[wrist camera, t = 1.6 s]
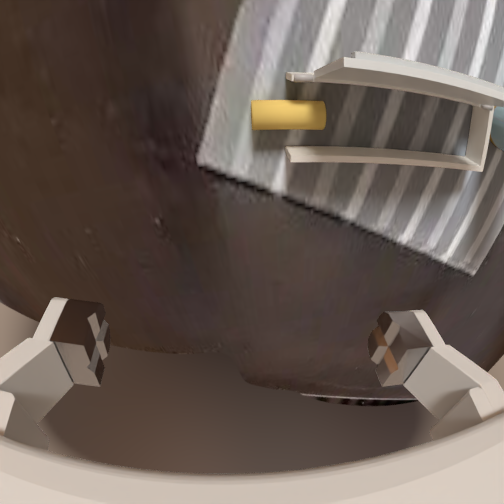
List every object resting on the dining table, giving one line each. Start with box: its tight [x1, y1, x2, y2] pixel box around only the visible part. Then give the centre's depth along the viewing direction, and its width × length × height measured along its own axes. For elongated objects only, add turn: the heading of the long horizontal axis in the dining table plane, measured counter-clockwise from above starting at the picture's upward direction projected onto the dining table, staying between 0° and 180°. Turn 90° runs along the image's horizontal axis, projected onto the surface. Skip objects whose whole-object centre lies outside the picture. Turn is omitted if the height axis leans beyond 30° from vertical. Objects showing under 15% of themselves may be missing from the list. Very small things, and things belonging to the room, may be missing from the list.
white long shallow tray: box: [285, 72, 494, 172], centre depth 29 cm, size 25×9×4 cm, turn 92°
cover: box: [314, 51, 504, 107], centre depth 22 cm, size 20×8×1 cm
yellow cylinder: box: [251, 100, 326, 130], centre depth 30 cm, size 7×3×3 cm
